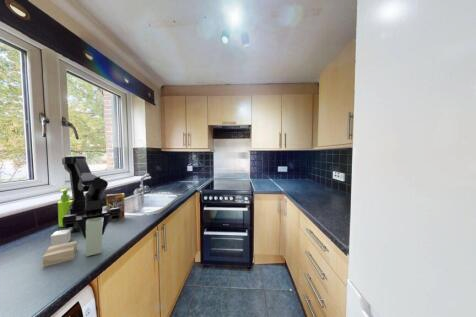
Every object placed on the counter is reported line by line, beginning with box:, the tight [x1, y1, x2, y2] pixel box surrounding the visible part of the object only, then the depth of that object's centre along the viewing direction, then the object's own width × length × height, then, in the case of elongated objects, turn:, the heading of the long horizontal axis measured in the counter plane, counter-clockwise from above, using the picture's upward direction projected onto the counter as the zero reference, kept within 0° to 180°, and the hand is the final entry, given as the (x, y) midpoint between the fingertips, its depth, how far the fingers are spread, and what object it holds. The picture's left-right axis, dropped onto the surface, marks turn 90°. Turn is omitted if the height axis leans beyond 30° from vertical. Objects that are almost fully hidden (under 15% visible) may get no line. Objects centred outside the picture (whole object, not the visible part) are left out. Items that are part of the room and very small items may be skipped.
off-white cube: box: [50, 228, 72, 246], centre depth 79 cm, size 5×5×5 cm
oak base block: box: [42, 240, 78, 268], centre depth 69 cm, size 8×8×4 cm
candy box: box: [105, 192, 126, 221], centre depth 107 cm, size 9×4×15 cm, turn 123°
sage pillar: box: [85, 217, 103, 257], centre depth 72 cm, size 5×5×13 cm
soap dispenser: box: [57, 188, 73, 228], centre depth 98 cm, size 6×7×20 cm
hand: (94, 236), depth 71 cm, fingers closed on sage pillar, 5 cm apart
